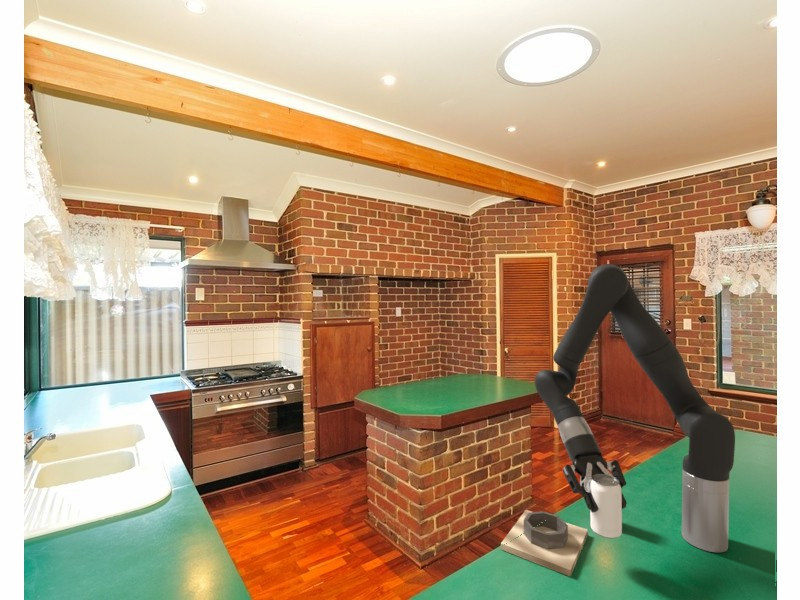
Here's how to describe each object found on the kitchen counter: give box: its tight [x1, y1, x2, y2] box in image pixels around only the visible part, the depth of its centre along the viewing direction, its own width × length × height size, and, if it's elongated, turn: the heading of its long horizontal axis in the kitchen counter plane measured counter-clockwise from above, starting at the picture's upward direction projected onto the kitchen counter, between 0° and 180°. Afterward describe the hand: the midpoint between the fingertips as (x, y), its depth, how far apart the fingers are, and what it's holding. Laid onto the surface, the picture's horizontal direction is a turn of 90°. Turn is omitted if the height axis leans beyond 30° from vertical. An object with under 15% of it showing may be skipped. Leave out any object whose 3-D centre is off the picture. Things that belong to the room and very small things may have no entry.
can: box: [589, 474, 623, 539], centre depth 93 cm, size 6×6×12 cm
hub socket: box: [500, 509, 589, 577], centre depth 101 cm, size 18×16×5 cm
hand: (609, 509), depth 92 cm, fingers closed on can, 6 cm apart
